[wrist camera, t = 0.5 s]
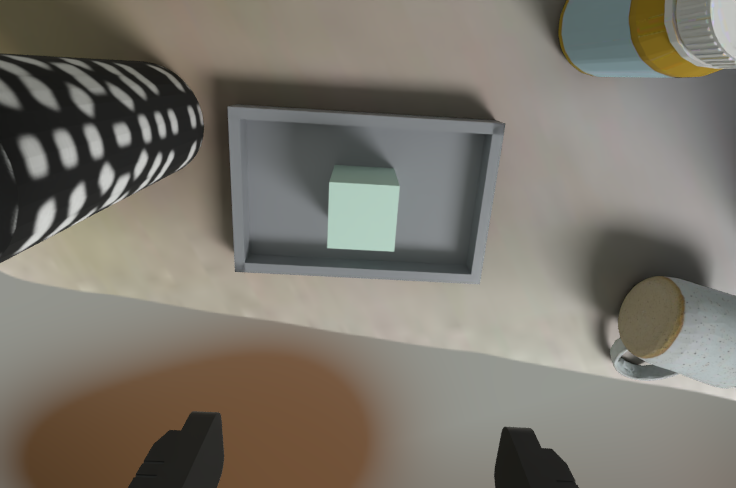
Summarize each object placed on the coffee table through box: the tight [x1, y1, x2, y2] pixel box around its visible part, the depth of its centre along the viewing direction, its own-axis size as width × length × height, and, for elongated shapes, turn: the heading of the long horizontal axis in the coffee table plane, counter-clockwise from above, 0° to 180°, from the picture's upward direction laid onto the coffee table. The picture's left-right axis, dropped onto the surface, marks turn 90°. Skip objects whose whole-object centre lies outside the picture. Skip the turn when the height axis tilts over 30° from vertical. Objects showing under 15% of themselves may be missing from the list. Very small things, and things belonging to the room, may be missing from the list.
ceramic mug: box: [610, 276, 736, 388], centre depth 38 cm, size 11×8×8 cm
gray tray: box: [228, 104, 505, 284], centre depth 36 cm, size 20×13×2 cm, turn 87°
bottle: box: [558, 0, 736, 78], centre depth 26 cm, size 7×7×15 cm
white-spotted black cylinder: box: [0, 54, 204, 263], centre depth 25 cm, size 8×8×20 cm
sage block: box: [327, 165, 400, 252], centre depth 33 cm, size 5×5×6 cm
